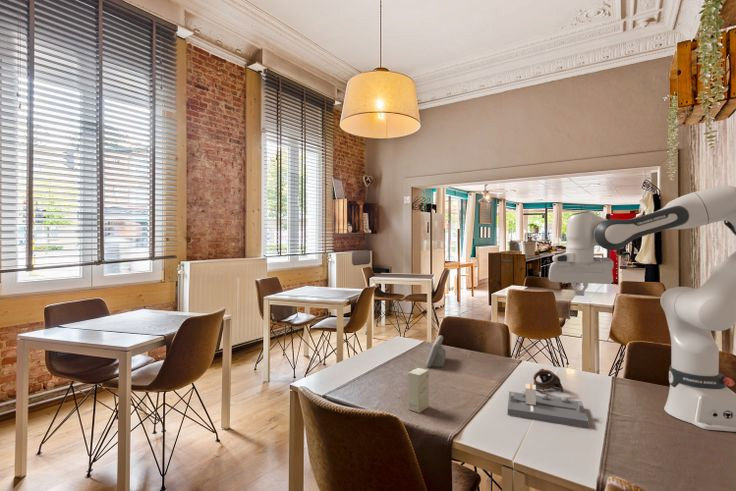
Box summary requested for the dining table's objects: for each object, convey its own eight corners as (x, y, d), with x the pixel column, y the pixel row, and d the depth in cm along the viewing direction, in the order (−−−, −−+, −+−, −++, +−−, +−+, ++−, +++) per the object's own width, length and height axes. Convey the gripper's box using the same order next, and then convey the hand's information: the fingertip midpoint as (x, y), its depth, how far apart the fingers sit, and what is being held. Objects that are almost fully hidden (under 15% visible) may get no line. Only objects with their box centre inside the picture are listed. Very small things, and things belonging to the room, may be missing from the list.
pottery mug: (570, 397, 133) (561, 378, 131) (544, 407, 135) (535, 389, 133) (554, 376, 145) (547, 359, 143) (531, 385, 146) (523, 368, 144)
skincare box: (419, 413, 120) (419, 375, 120) (407, 409, 123) (407, 372, 123) (429, 406, 125) (429, 369, 125) (417, 402, 128) (417, 366, 128)
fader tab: (535, 400, 124) (535, 384, 124) (535, 405, 120) (535, 388, 120) (525, 398, 125) (525, 383, 125) (525, 403, 122) (525, 387, 122)
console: (581, 407, 124) (581, 395, 123) (588, 428, 111) (588, 414, 111) (509, 397, 132) (509, 385, 132) (507, 414, 119) (507, 402, 119)
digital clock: (432, 356, 177) (432, 333, 177) (451, 359, 173) (451, 336, 172) (418, 366, 163) (418, 342, 163) (438, 370, 159) (438, 345, 159)
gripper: (611, 256, 136) (611, 295, 136) (548, 256, 144) (548, 292, 144) (615, 258, 130) (615, 298, 131) (549, 257, 138) (549, 295, 138)
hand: (579, 295), depth 137 cm, fingers closed
